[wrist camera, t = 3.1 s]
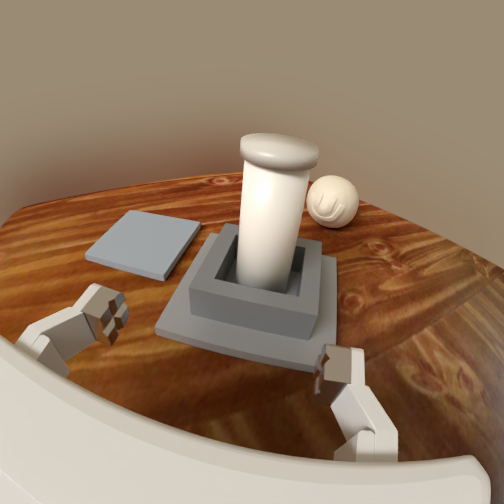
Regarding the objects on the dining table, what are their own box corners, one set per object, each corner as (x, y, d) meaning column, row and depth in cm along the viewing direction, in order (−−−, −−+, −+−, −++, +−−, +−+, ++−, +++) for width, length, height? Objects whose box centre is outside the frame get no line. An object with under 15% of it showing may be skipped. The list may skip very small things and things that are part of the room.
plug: (292, 275, 28) (319, 141, 20) (285, 315, 24) (319, 161, 16) (239, 264, 28) (250, 129, 21) (223, 302, 24) (231, 146, 17)
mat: (200, 227, 35) (200, 222, 34) (164, 281, 27) (163, 275, 26) (131, 215, 36) (130, 209, 36) (86, 259, 28) (84, 253, 28)
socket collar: (333, 264, 31) (343, 234, 29) (330, 375, 20) (348, 346, 18) (210, 240, 33) (211, 209, 31) (156, 334, 22) (148, 300, 20)
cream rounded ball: (292, 225, 37) (300, 177, 33) (315, 206, 42) (324, 164, 38) (340, 245, 35) (354, 196, 31) (357, 223, 40) (369, 180, 36)
